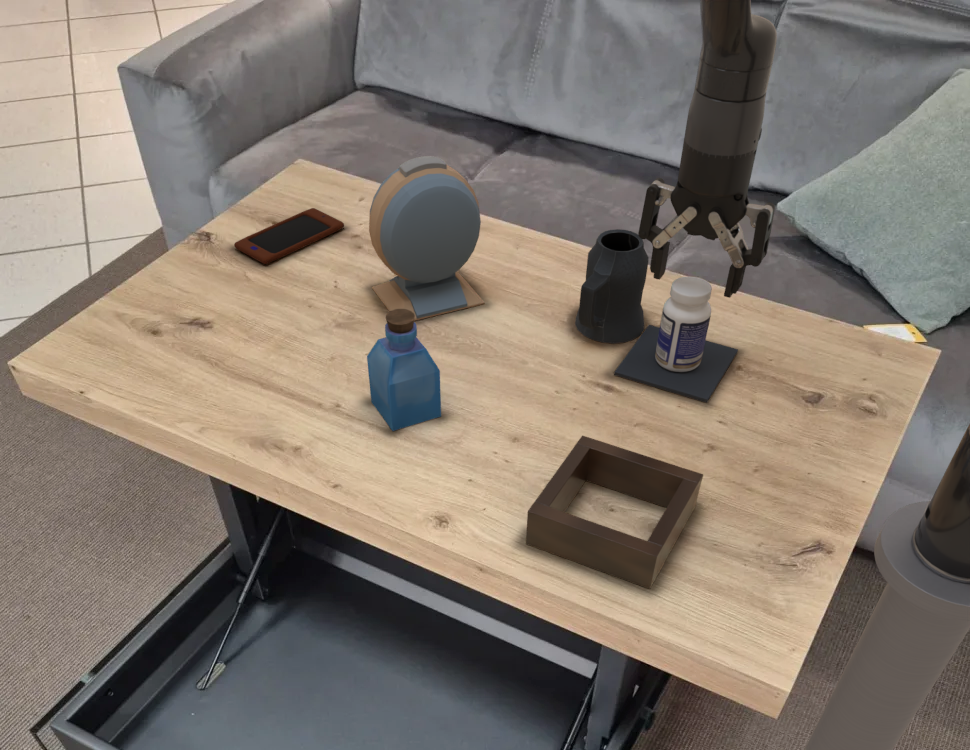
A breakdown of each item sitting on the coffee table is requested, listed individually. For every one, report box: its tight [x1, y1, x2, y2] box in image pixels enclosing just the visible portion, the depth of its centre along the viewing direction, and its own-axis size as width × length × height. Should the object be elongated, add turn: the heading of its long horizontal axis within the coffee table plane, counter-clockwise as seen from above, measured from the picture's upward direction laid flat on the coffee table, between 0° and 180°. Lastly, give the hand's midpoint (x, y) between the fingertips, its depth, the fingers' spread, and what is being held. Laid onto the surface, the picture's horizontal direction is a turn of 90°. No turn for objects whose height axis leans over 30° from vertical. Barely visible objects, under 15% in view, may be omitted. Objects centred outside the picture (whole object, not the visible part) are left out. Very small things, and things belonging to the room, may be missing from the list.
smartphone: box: [233, 207, 345, 265], centre depth 135 cm, size 7×1×15 cm
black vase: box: [574, 228, 650, 344], centre depth 117 cm, size 12×9×11 cm
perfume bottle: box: [366, 309, 442, 432], centre depth 106 cm, size 6×6×12 cm
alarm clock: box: [368, 155, 485, 322], centre depth 119 cm, size 14×10×18 cm
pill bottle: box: [655, 275, 713, 372], centre depth 113 cm, size 6×6×10 cm
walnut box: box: [525, 435, 704, 590], centre depth 96 cm, size 14×14×4 cm
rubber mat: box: [613, 324, 739, 404], centre depth 117 cm, size 12×12×1 cm
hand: (693, 285), depth 109 cm, fingers open, 8 cm apart
